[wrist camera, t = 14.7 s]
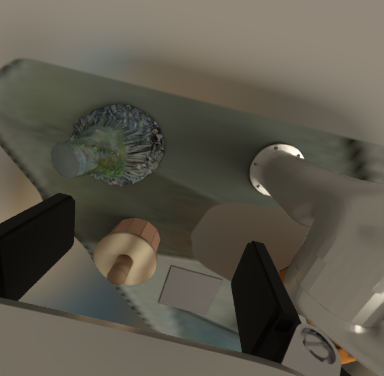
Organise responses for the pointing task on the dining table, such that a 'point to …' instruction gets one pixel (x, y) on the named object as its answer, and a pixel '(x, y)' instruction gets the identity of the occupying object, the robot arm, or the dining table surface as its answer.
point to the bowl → (139, 230)
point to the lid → (125, 258)
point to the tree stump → (111, 146)
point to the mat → (189, 290)
